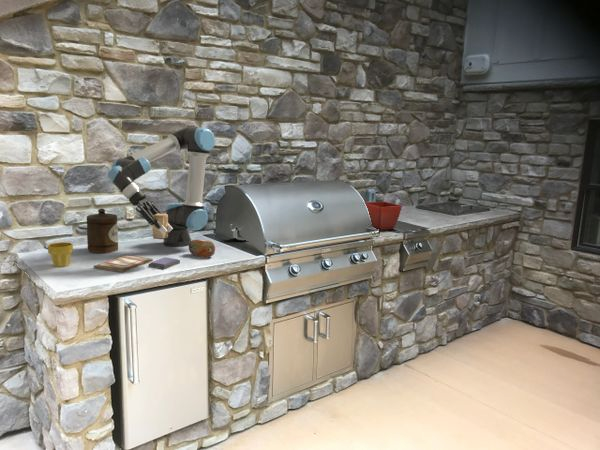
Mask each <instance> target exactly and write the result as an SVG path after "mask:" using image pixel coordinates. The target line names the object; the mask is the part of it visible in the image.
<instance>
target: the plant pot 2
mask: <svg viewBox="0 0 600 450" xmlns="http://www.w3.org/2000/svg"><path fill="white" fill-rule="evenodd" d="M364 203H365V204H366V206H367V208H368V211H369V215H370V218H371V222H372V226H373V227H374V228H376V229H375V230H377V229H379V230H378V231H386V230H387V231H388V230H389V231H390V230H394V228H395V226H396V224H397V223H398V219H399V217H400V215H401V211H402V207H403V206H402V205H400V204H395V203H393V202H388V201H369V202H368V201H367V202H364ZM374 228H373V229H374Z"/></svg>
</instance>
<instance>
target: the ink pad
mask: <svg viewBox="0 0 600 450" xmlns="http://www.w3.org/2000/svg"><path fill="white" fill-rule="evenodd" d="M180 263H181V260H180V259H178V258H172V257H165V256H164V257H162V258H158V259H156V260H153V261H151V262H149V263H148V267H149V268H155V269H161V270H166V269H168V268H171V267H173V266H175V265H178V264H180Z"/></svg>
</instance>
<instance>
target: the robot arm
mask: <svg viewBox="0 0 600 450" xmlns="http://www.w3.org/2000/svg"><path fill="white" fill-rule="evenodd" d="M215 145H216V137H215V135H214V133H213V131H211V130H210V129H209V128H206V127H198V126H197V127H196V126H195V127H192V126H188V127H183V128H181V129H179V130H177V131H174V132H172V133H170V134H168V136H167V137H166V138H164V139H161V140H160V141H158V142H155V143H153V144H151V145H149V146H147V147H145V148H143V149H140V150H138V151H136V152H134V153H132V154H130V155H128V156H125V157H123V158H120V157H119V158H116V159H114V161H113V162H112V165H111V166H112V168H110V170H109V171H108V173H107V178H109V180H110V182H111V183H112V184H113V185H114V186H115V187H116V188H117V190H119V191H120V193H122V194H123V197H124V198H126V199H127V200H128V201H129V202H130V203H131V205H132V206H134V207H135V206H136V207H135V210H136V211H137V212H138V213H139V214H140V215H141V217H142V218H143V219H145V221H146V222H147V223H148V224H150V226H153V224H154V225H155V227H156V228H157V229H158V230H159V231H160V232H161V233H162V234H163V235H164V234H165V233H166V232H167V230H166V229H165V227H164V226H163V225H162V224H161V223H160V222H159V221H157V220H156V219H155V217H154V216H153V215H155V214H164V213H163V212H162V211H161V210H160V209H159V207H157V205H155V203H154V201H153V200H152V201H148V200H147V199H146V198H147V195H146V193H145V192H144V191H143V190H141V188H140V186H139V185H138V184H137V183H136V182H135V180H136V181H137V180H138V179H140V177H142V176H144V175H146V174H147V173H149V172H150V171H151V169H152V165H151V163H152V162H154V161H156V160H158V159H161V158H162V157H164V156H167V155H169V154H171V153H173V152H179V151H182V150H187V151H186V152H187V154H188V155H189V163H188V173H187V184H186V194H185V201H183V202H171V203H168V204H166V207H165V214H168V237H167V238H165V239H162V241H163V246H168V247H186V246H189V243H190V242H191V241H192V238H191V235H190V233H189V230H191V231H199V230H202V229H203V228H204V227H205V226H206V225H207V223H208V220H209V218H208V217H209V215H208V213H207V211H205V204H204V203H203V197H204V196H203V195H204V187H205V186H204V184H205V174H206V164H207V163H206V162H207V158H208V157H209V156H210V152H211V150H213V148H215Z"/></svg>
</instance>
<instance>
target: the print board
mask: <svg viewBox="0 0 600 450" xmlns="http://www.w3.org/2000/svg"><path fill="white" fill-rule="evenodd" d="M153 261H154V258H149V257H143V256H135V255H130V254H129V255H128V254H125V255H122V256H118V257H116V258H113V259H112V258H111V259H109V260H107V261H104V262H100V263H98V264H95V265H93V269H98V270H104V271H109V272H115V273H121V274H122V273H125V272H127V271H130V270H133V269H135V268H138V267H141V266H144V265H145V264H147V263H148V264H149V263H151V262H153Z"/></svg>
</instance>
